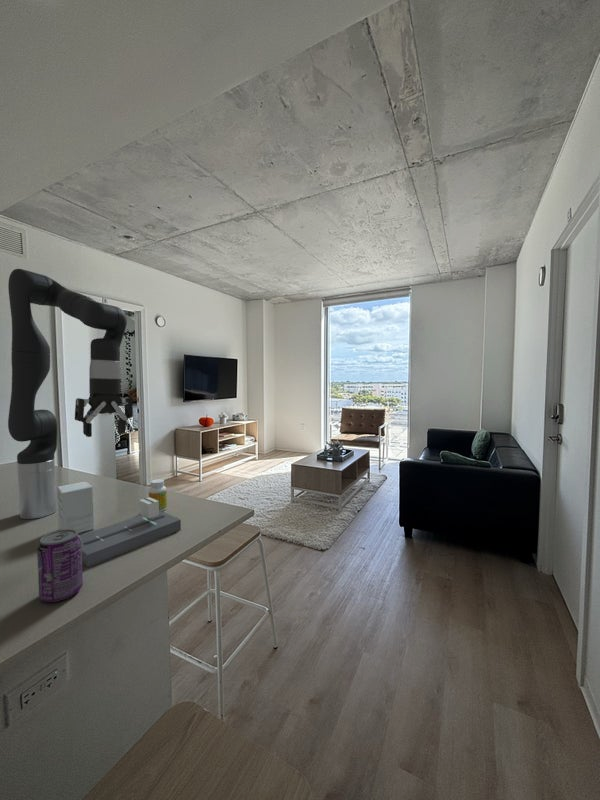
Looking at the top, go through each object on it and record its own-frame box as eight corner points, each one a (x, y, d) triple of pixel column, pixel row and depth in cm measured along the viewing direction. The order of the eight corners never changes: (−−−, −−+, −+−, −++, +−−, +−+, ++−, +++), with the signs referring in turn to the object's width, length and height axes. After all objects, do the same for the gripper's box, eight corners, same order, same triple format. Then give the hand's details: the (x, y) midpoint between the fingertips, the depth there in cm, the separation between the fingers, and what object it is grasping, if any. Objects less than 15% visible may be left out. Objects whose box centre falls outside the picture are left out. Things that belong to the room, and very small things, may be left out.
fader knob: (139, 519, 93) (139, 499, 93) (149, 515, 96) (149, 496, 96) (148, 523, 91) (148, 503, 90) (159, 520, 93) (158, 500, 93)
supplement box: (88, 521, 100) (86, 480, 99) (94, 529, 94) (93, 486, 94) (58, 529, 95) (56, 486, 94) (63, 538, 89) (61, 492, 89)
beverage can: (54, 583, 69) (52, 528, 69) (89, 582, 70) (88, 527, 69) (30, 606, 62) (27, 545, 62) (69, 604, 63) (67, 543, 62)
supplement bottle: (160, 513, 106) (159, 484, 105) (145, 512, 107) (144, 482, 106) (170, 507, 111) (169, 479, 111) (155, 505, 112) (155, 478, 112)
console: (68, 551, 83) (67, 539, 82) (158, 519, 102) (157, 509, 102) (87, 567, 75) (87, 554, 75) (180, 529, 95) (180, 519, 94)
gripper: (125, 377, 99) (124, 430, 100) (70, 375, 88) (70, 435, 89) (137, 378, 95) (137, 433, 96) (82, 376, 83) (82, 439, 84)
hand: (105, 434), depth 92 cm, fingers open, 8 cm apart
